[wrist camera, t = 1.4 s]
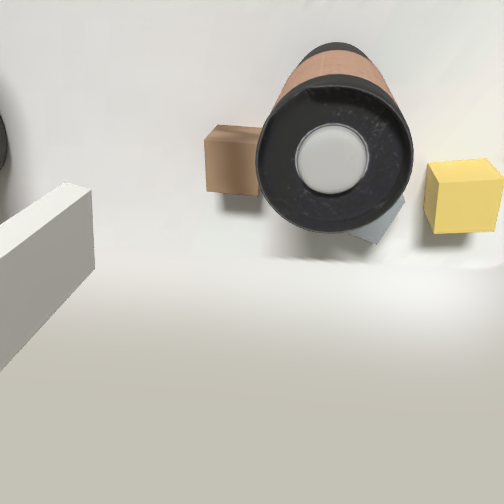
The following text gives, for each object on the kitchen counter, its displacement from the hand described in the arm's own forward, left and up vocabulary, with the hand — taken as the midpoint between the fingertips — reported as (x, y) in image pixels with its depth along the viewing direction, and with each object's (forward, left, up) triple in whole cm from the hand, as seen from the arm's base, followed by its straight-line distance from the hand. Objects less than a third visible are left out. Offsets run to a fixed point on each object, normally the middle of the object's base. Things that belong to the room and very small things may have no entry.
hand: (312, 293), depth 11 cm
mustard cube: (+14, -6, -30) cm, 33 cm away
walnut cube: (-7, -8, -30) cm, 31 cm away
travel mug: (0, 0, -30) cm, 30 cm away
